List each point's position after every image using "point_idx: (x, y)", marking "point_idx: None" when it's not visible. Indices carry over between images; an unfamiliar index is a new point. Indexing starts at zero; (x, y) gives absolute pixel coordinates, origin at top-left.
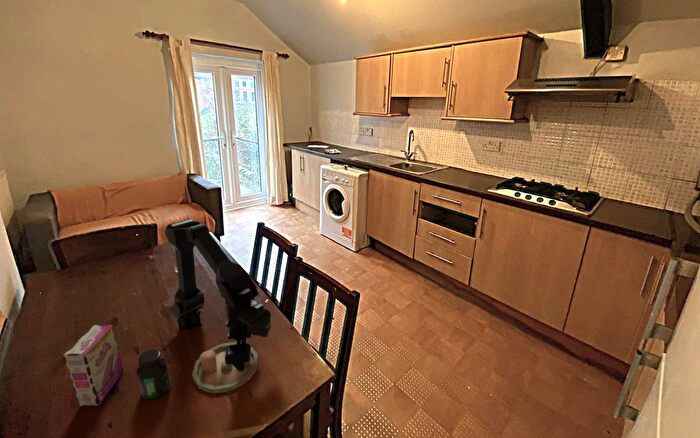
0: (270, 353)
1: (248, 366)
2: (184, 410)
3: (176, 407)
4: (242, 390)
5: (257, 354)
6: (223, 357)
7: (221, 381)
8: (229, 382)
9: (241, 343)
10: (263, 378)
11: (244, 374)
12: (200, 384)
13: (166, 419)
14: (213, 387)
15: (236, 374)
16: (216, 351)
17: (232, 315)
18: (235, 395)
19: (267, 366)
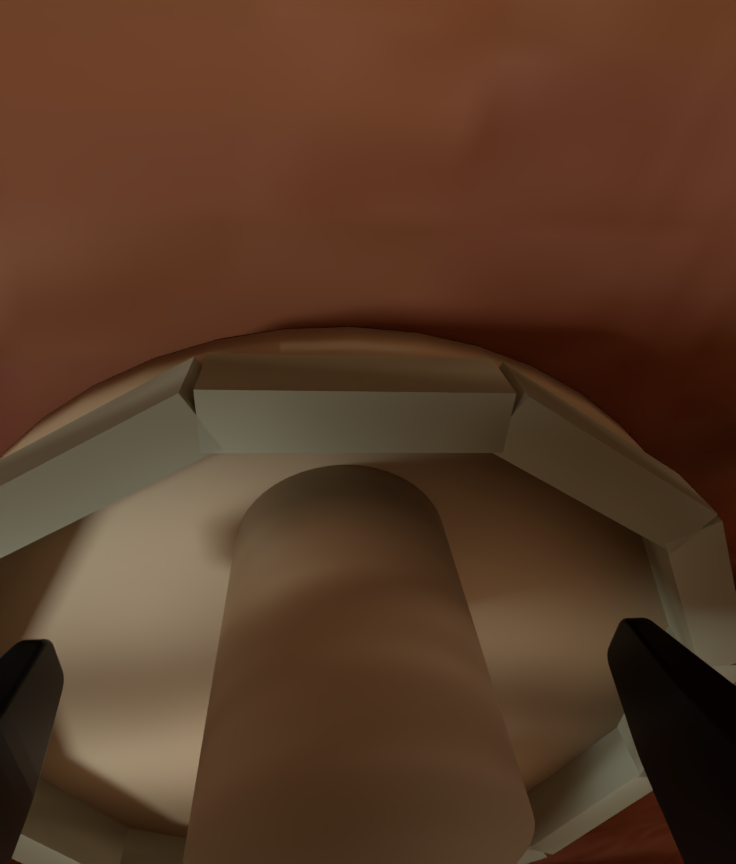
0: (54, 47)
1: (413, 487)
2: (647, 803)
3: (596, 835)
4: (712, 501)
5: (200, 380)
6: (171, 735)
7: (535, 703)
8: (587, 646)
9: (13, 793)
10: (675, 242)
11: (541, 523)
12: (549, 848)
13: (658, 847)
14: (643, 779)
15: (498, 601)
16: (68, 800)
17: None
18: (733, 556)
19: (435, 151)
